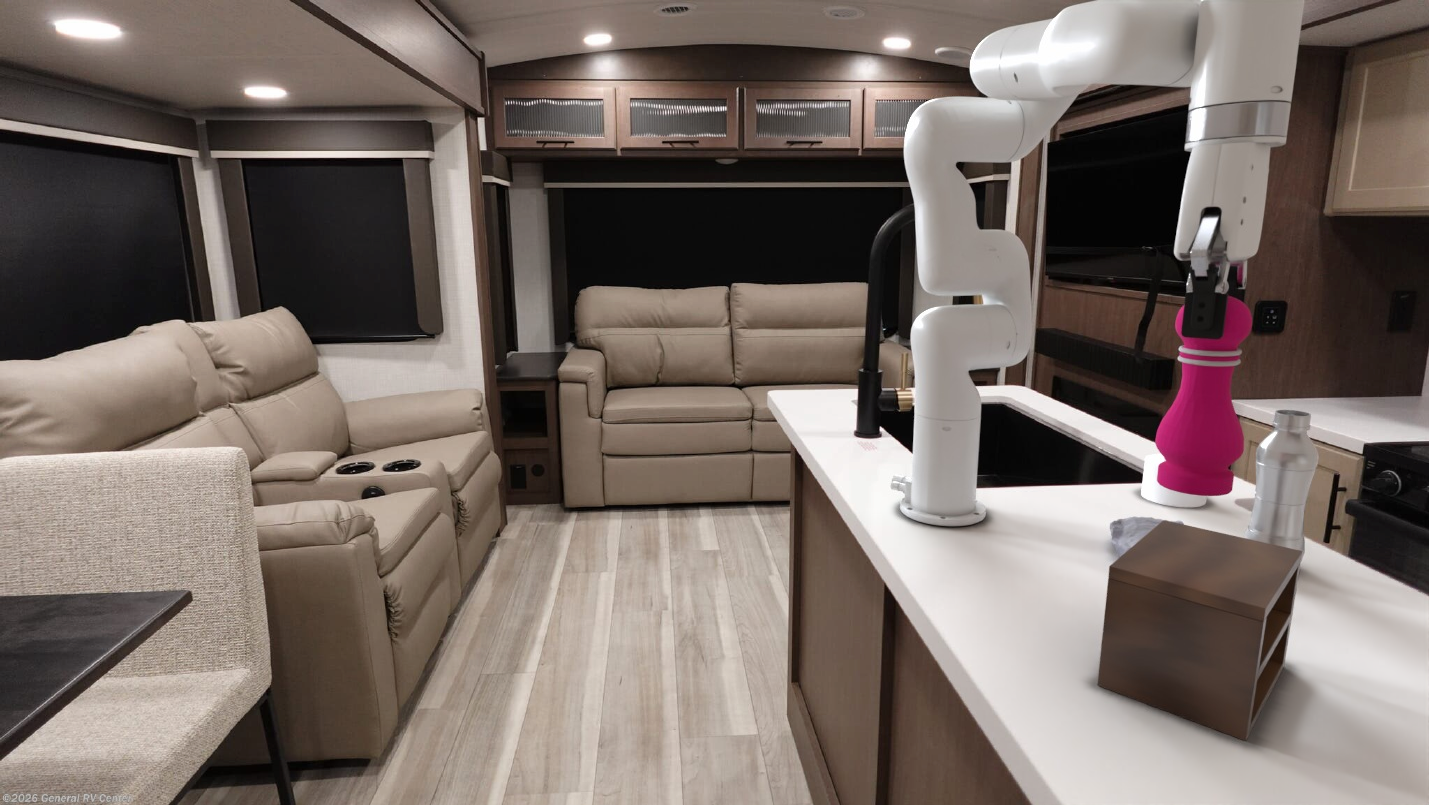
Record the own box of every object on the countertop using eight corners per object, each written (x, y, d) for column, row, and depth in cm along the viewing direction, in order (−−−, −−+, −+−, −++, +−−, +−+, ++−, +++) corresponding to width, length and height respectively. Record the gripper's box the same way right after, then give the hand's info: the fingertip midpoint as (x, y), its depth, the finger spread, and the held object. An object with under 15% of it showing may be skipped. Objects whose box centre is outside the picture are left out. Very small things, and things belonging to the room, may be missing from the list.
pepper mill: (1239, 503, 71) (1269, 280, 67) (1148, 490, 74) (1171, 278, 70) (1236, 481, 77) (1263, 276, 73) (1153, 471, 80) (1174, 275, 76)
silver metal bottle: (1235, 566, 99) (1256, 414, 95) (1245, 550, 104) (1266, 404, 100) (1297, 581, 95) (1322, 422, 91) (1305, 564, 100) (1329, 412, 96)
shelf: (1097, 685, 74) (1109, 566, 72) (1151, 625, 85) (1163, 519, 83) (1245, 741, 66) (1265, 608, 63) (1284, 666, 77) (1302, 550, 74)
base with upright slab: (1145, 485, 131) (1153, 415, 128) (1208, 495, 126) (1217, 422, 123) (1137, 500, 124) (1144, 427, 121) (1203, 511, 119) (1213, 435, 116)
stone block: (1127, 584, 99) (1215, 575, 96) (1122, 548, 98) (1210, 538, 96) (1102, 550, 110) (1180, 542, 108) (1097, 518, 109) (1175, 508, 107)
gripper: (1211, 141, 77) (1191, 323, 81) (1158, 126, 65) (1137, 340, 69) (1305, 134, 72) (1278, 328, 76) (1266, 116, 60) (1236, 348, 64)
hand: (1211, 332), depth 72 cm, fingers closed on pepper mill, 6 cm apart
